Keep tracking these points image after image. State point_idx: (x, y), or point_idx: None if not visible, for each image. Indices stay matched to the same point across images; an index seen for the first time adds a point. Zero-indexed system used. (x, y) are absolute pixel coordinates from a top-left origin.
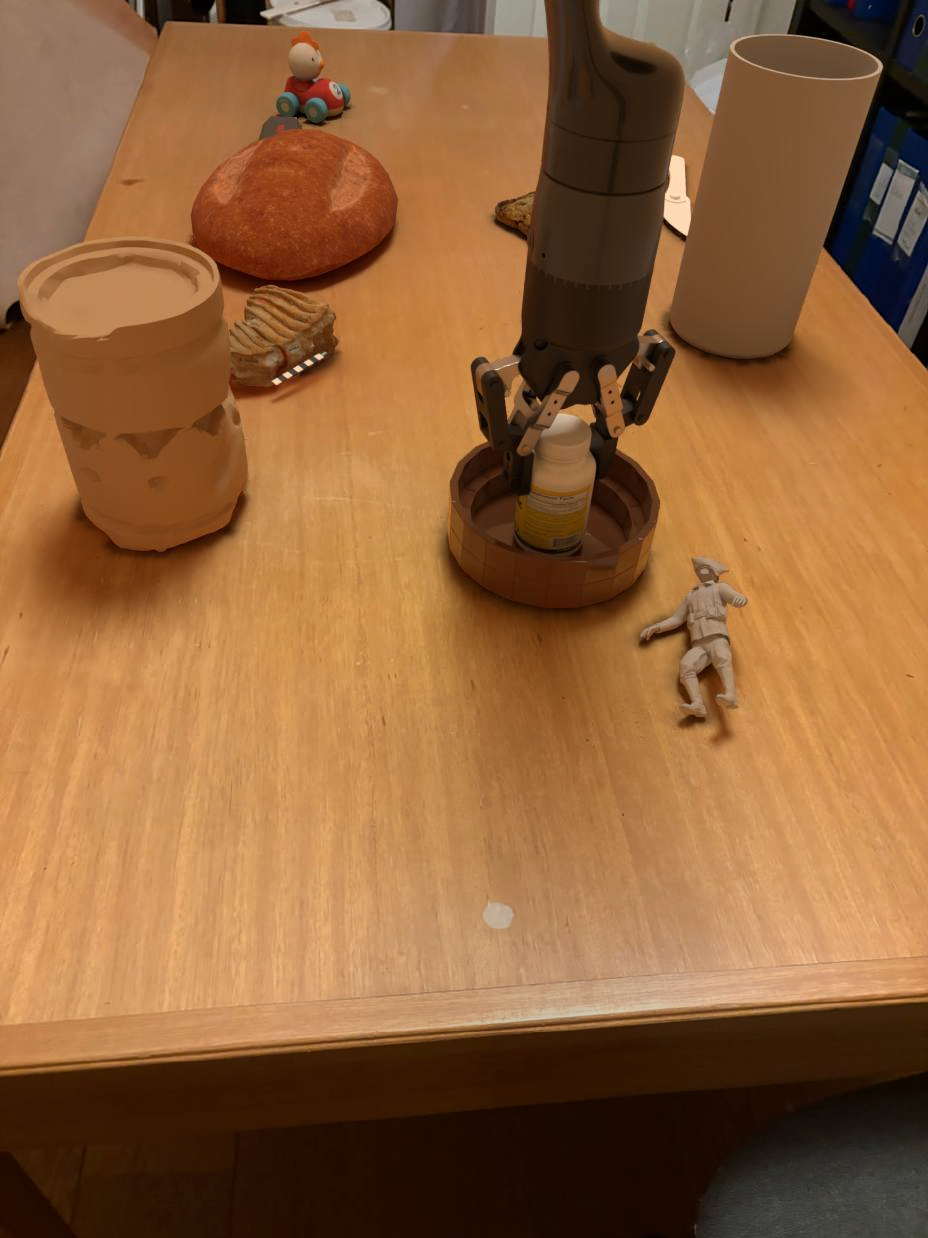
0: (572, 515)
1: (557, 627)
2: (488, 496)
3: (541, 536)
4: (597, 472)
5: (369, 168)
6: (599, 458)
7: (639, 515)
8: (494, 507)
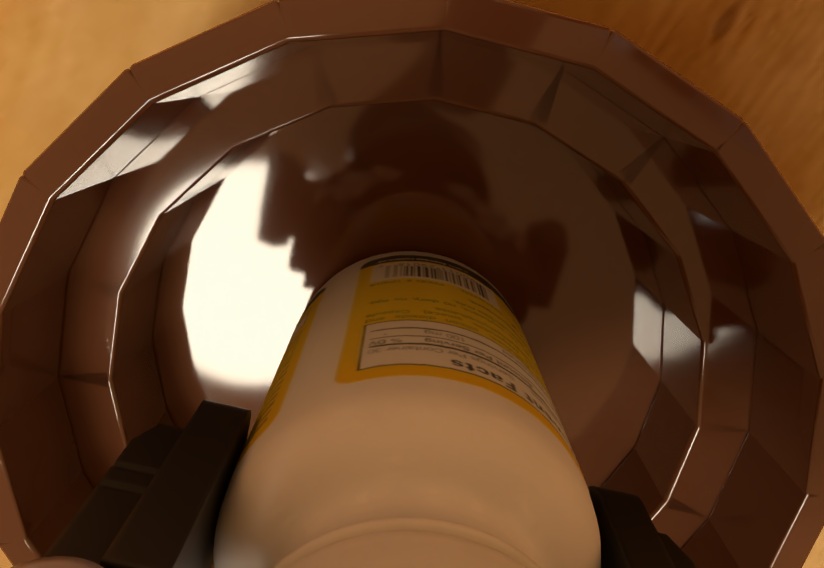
0: (438, 316)
1: (643, 28)
2: None
3: (519, 332)
4: (239, 434)
5: None
6: (215, 488)
7: (110, 230)
8: None
